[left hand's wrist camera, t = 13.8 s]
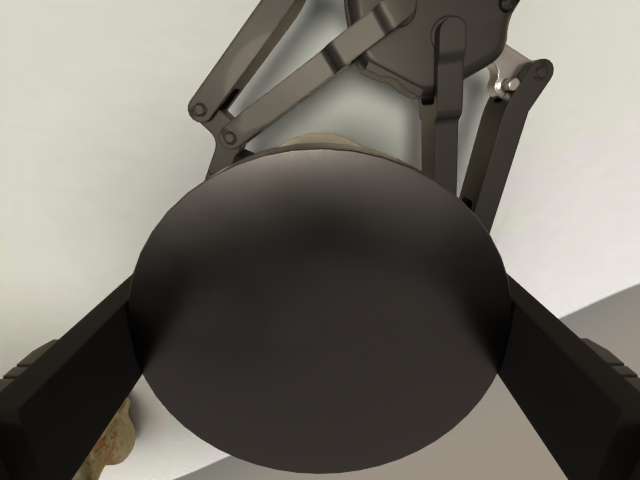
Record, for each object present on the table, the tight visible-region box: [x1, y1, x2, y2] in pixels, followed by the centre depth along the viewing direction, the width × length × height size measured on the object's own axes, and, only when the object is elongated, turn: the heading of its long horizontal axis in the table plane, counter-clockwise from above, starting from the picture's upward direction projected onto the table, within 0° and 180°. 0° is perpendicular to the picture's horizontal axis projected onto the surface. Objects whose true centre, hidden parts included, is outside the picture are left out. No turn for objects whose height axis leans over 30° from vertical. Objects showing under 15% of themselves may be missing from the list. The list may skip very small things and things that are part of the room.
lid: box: [128, 142, 512, 474], centre depth 12 cm, size 12×12×2 cm
